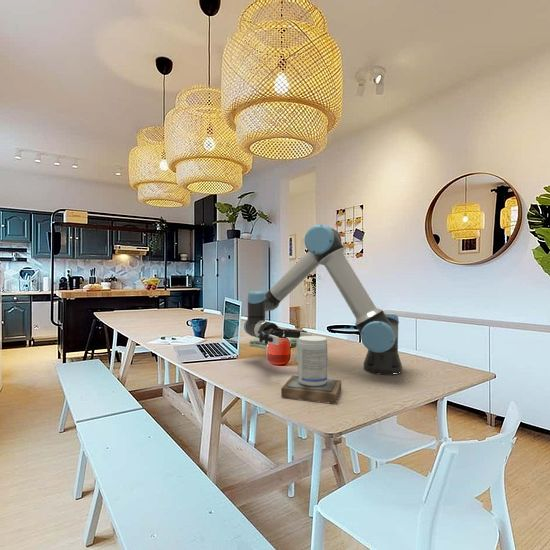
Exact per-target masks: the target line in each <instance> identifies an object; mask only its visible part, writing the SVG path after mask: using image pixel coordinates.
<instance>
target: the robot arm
mask: <svg viewBox="0 0 550 550" xmlns="http://www.w3.org/2000/svg"><path fill="white" fill-rule="evenodd" d="M303 240H304V246H305V247H306V249H307V250H308V251H307V252H306V253H305V254H304V255H302V257H301V258H300V259H299V260H298V261H296V263H295V264H294V265H293V266H292V267H291V268H290V269H289V270H288V271H287V272H286V273H285V274H284V275H282V277H281V278H279V280H278V281H277V282H276V283H275V284H273V286H272V287H270V289H269V290H268V291H266V292H265V291H264V290H251V291H249V292H248V293H247V319H246V320H245V322H244V324H243V330H244V332H245V333H246V334H248V335H249V336H251V337H254V338H259V342H263V341H264V340H265V344H268V342H270V343H272V344H275V345H279V338H287V337H290V338H299V337H302V336H313V334H312V333H309V332H308V331H307V330H304V329H301V330H300V329H292V328H291V329H290V328H280V327H279V326H278V325H277V324H276V323H275V322H271V321H266V312H269V311H274V310H276V309H277V308H278V307H279V306H280V304H281V302H282V301H283V300H285V298H286V297H287V296H288V295H289V294H291V292H293V290H295V289H296V288H297V286H299V285H300V284H301V283H302V282H303V281H304V280H305V279H306V278H307V277H308V276H309V275H311V273H313V272H314V271H315V269H317V268H318V267H319V266H320V265H321V266H323V267H325V268H326V271H327V272H328V274H329V275H330V277H331V279H332V280H333V282H334V284H335V287H336V288H337V289H338V291H339V292H340V294H341V296H342V297H343V299H344V300H345V302H346V304H347V306H348V308H349V310H350V311H351V312H352V315H354V318H355V324H354V325H355V328H356V330H358V332H359V334H360V339H361V342H362V344H363V346H364V347H365V348H366V349H367V352H366V355H365V358H364V360H363V370H364V369H365V370H364V371H366V372H368V371H369V373H372V372H373V373H372V374H376V373H380V374H379V375H385V374H393V373H399V372H401V371H402V372H403V364H402V361H401V359H400V358H401V357H400V355H399V351H398V350H399V324H400V321H399V316H398V315H397V314H393V313H392V314H391V313H385V311H384V310H383V309H382V308H381V309H380V308H378V307H376V305H375V303H374V302H373V300H372V298H371V297H370V296H369V294H368V292H367V290H366V288H365V287H364V286H363V284H362V281H360V279H359V277H358V276H357V274H356V272H355V270H354V269H353V267H352V266H351V264H350V263H349V261H348V259H347V257H346V256H345V255H344V254H345V247H344V245H343V244H342V236H341V235H340V233H339V231H338V230H337V229H334V228H332V227H330V226H329V225H327V224H323V223H322V224H316V225H313V226H311V227H310V228H309V229H308V230H307V231H306V233H305V235H304V239H303ZM283 335H284V336H283ZM402 372H401V373H402ZM399 374H400V373H399ZM393 375H394V374H393Z"/></svg>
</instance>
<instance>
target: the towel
mask: <svg viewBox="0 0 550 550" xmlns="http://www.w3.org/2000/svg"><path fill="white" fill-rule="evenodd" d="M283 336H284V335H283ZM289 340H290V344H291V348H294V347H296V342H297V338H290V337H289ZM249 345H250V346H251V347H256V348H262V349H266V348H267V344H265V340H264V341H263V342H259V338H257V337H254V338H253V339H251V340H250V341H249Z"/></svg>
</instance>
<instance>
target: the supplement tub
mask: <svg viewBox="0 0 550 550" xmlns="http://www.w3.org/2000/svg"><path fill="white" fill-rule="evenodd" d="M297 376H298V381H299V383H301V384H303V385H307V386H321V385H324V384H326V383H327V379H328V339H327V337H325V336H318V335H312V336H302V337H299V341H298V363H297Z"/></svg>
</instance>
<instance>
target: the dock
mask: <svg viewBox="0 0 550 550" xmlns="http://www.w3.org/2000/svg"><path fill="white" fill-rule="evenodd" d="M280 390H281V392H280V393H281V395H280V398H281V397H283V399H288V398H290V399H289V400H297V399H301V400H300V401H306V400H309V401H308V402H314V401H320V402H319V403H323V402H329V403H328V404H331V403H336V404H337V402H336V401H338V399H339V396H340V394H341V391H342V380H341V379H333V378H327V383H326V384H324V385H321V386H307V385H303V384H301V383H299V381H298V375H292V376H290V378H289V379H288V380H287V381H286V382H285V383H284V384H283V386H282V387H281V389H280ZM340 390H341V391H340ZM338 395H339V396H338ZM337 398H338V399H337Z"/></svg>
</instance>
